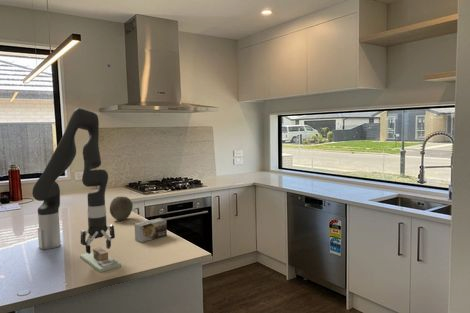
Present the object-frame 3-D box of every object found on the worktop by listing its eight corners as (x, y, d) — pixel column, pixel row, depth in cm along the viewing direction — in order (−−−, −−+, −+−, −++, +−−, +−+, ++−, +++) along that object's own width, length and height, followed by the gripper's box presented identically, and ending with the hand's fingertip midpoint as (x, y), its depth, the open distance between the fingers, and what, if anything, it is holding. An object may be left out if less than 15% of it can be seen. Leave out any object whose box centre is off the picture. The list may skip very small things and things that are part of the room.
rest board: (99, 272, 144) (99, 269, 144) (80, 257, 161) (80, 254, 161) (120, 266, 150) (120, 263, 150) (99, 252, 167) (99, 249, 167)
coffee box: (134, 240, 184) (160, 233, 195) (141, 242, 179) (167, 235, 191) (134, 223, 183) (160, 217, 195) (140, 225, 179) (166, 219, 190)
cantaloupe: (133, 221, 220) (132, 198, 219) (109, 223, 216) (108, 199, 215) (133, 216, 234) (132, 194, 232) (110, 217, 230) (109, 195, 228)
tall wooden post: (90, 258, 156) (89, 249, 156) (103, 255, 160) (103, 246, 160) (103, 268, 145) (103, 258, 145) (117, 264, 149) (117, 255, 149)
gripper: (109, 210, 161) (110, 244, 162) (77, 216, 151) (79, 252, 153) (116, 213, 155) (117, 249, 157) (83, 219, 146) (85, 257, 147)
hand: (98, 250), depth 155 cm, fingers open, 8 cm apart
